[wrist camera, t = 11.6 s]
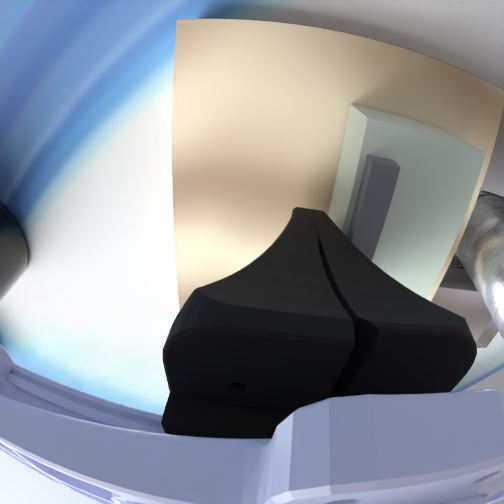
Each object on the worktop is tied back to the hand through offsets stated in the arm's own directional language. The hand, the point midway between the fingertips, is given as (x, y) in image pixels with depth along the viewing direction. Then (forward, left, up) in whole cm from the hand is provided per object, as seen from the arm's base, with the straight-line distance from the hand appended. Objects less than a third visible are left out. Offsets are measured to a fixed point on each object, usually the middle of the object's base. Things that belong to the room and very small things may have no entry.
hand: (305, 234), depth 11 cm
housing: (0, -4, -3) cm, 5 cm away
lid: (0, -3, -1) cm, 3 cm away
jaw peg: (0, -10, -3) cm, 10 cm away
